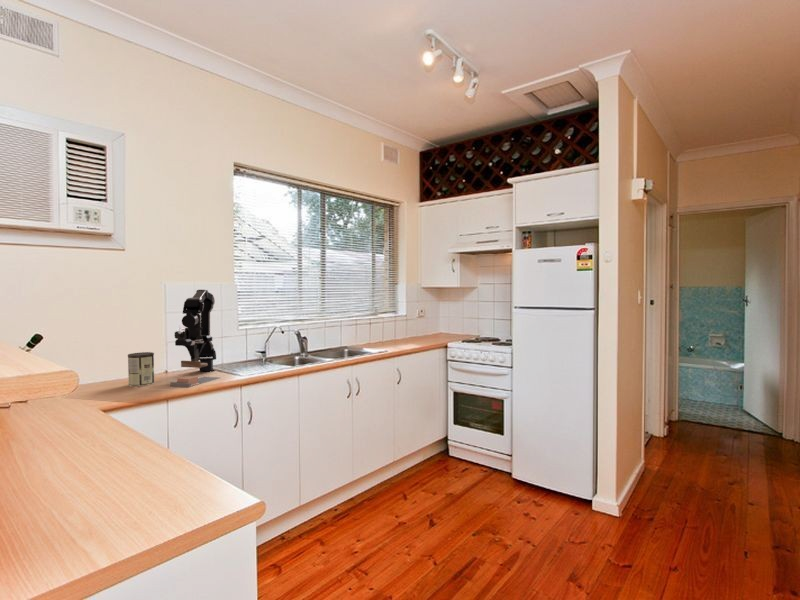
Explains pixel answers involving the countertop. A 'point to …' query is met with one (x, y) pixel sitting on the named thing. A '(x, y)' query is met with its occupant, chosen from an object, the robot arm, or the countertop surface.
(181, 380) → the tile
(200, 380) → the gray ledged slab
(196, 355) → the beige ledged slab
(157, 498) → the countertop surface
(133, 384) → the coffee can
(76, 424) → the countertop surface
